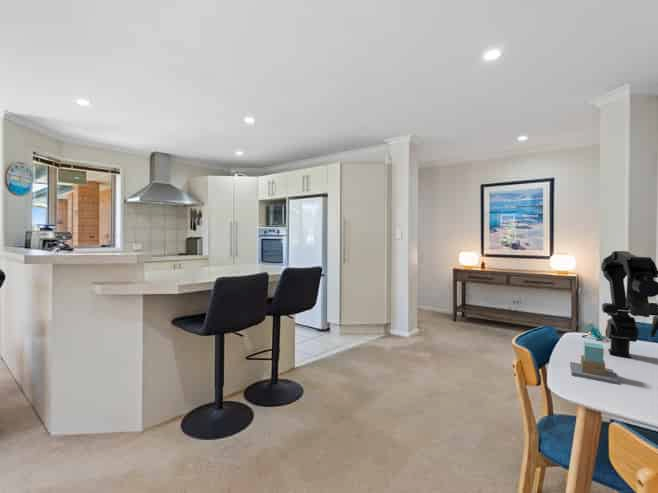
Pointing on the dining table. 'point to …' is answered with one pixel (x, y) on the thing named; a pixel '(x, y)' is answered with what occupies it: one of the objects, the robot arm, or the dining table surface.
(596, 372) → the walnut base block
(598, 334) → the stick construction toy
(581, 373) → the slate board
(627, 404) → the dining table surface
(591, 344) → the teal cube
